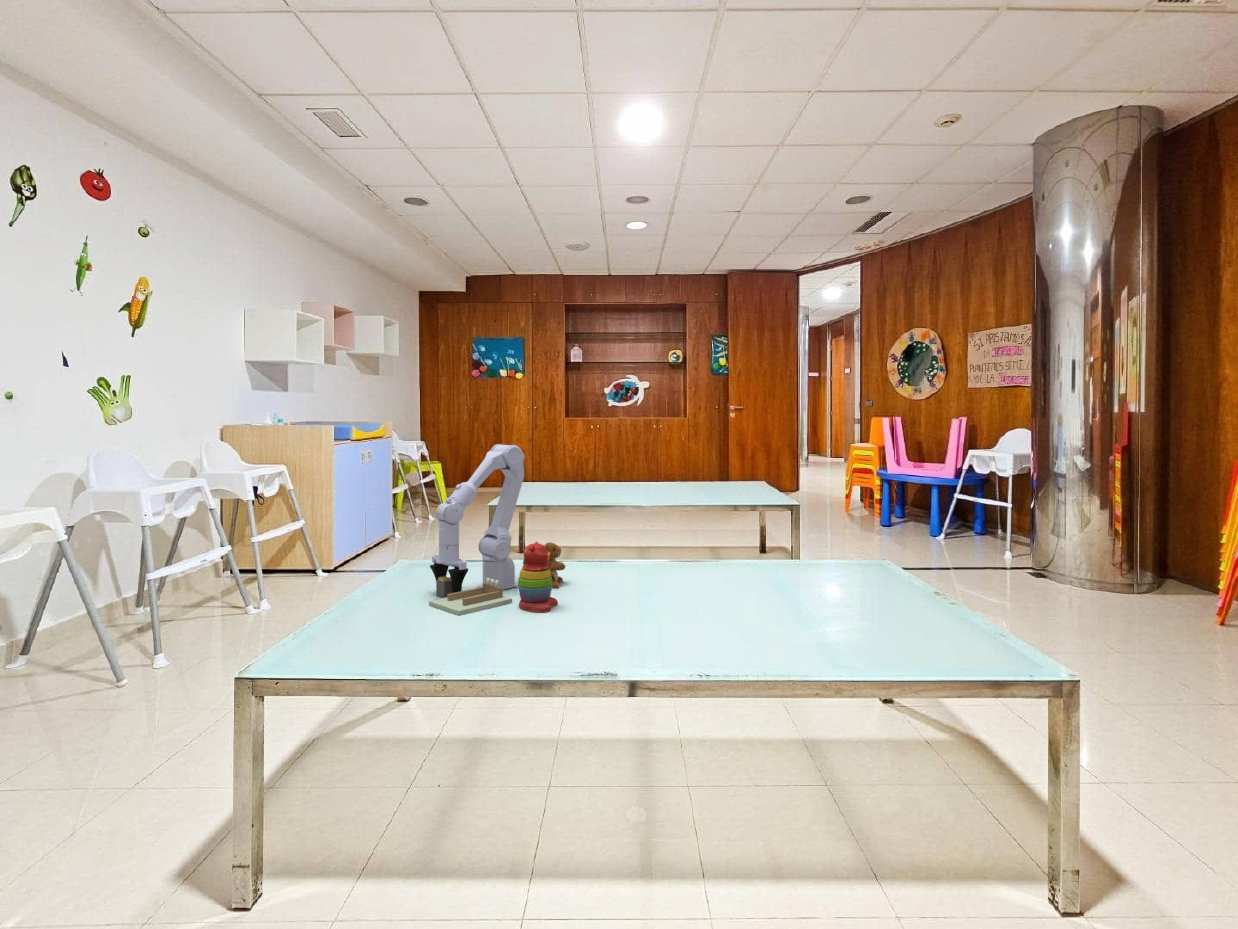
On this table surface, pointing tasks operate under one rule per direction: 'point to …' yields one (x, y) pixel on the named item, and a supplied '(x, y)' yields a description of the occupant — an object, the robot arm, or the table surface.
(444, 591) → the plug block
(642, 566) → the table surface
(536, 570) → the stacking bear
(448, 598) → the board
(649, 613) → the table surface
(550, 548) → the brown teddy bear
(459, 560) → the robot arm
